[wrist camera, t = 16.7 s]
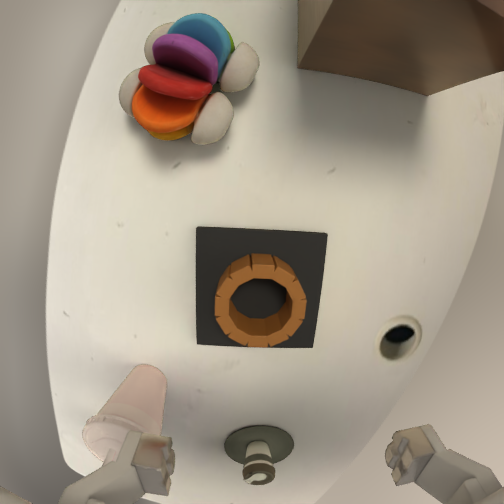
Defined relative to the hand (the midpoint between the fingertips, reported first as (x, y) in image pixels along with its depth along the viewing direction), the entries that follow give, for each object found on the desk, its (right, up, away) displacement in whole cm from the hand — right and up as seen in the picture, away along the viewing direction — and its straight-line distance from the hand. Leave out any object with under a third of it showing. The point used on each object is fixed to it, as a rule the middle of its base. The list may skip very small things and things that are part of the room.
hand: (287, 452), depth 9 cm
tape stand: (+9, +27, +10) cm, 30 cm away
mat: (-1, +4, +16) cm, 16 cm away
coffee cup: (-1, -15, +21) cm, 25 cm away
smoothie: (-11, -5, +18) cm, 22 cm away
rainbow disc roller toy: (-6, +20, +12) cm, 24 cm away
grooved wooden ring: (-1, +4, +15) cm, 16 cm away
